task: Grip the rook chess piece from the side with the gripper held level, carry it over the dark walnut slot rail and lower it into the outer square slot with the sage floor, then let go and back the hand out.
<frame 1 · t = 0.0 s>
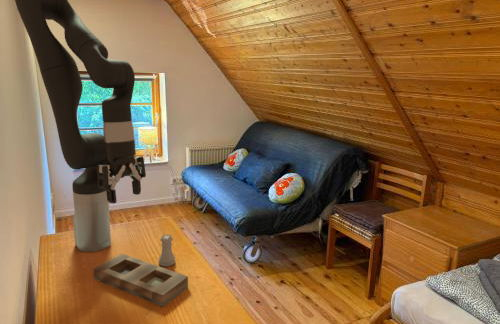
hand: (125, 198, 98), 17 cm above the table, tool pointing down, fingers open, 8 cm apart
rook chess piece: (167, 263, 100), on the table
slot rail: (140, 283, 90), on the table
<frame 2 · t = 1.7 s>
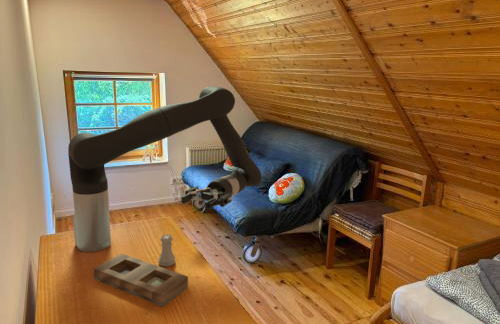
hand: (194, 203, 107), 14 cm above the table, tool horizontal, fingers open, 8 cm apart
nothing on the table moved.
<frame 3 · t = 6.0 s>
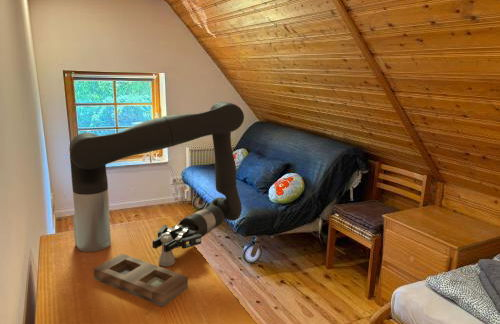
hand: (159, 246, 96), 6 cm above the table, tool horizontal, fingers closed on rook chess piece, 3 cm apart
rook chess piece: (167, 263, 100), on the table, touching gripper
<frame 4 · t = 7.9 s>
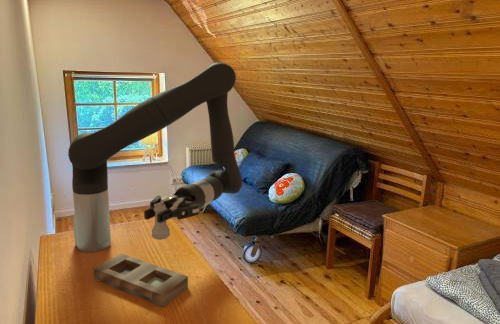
hand: (152, 217, 85), 18 cm above the table, tool horizontal, fingers closed on rook chess piece, 3 cm apart
rook chess piece: (160, 237, 89), point 11 cm above the table, touching gripper
when the fingers open (8 cm above the table, at t = 10.1 s): rook chess piece stays where it is, resting on slot rail.
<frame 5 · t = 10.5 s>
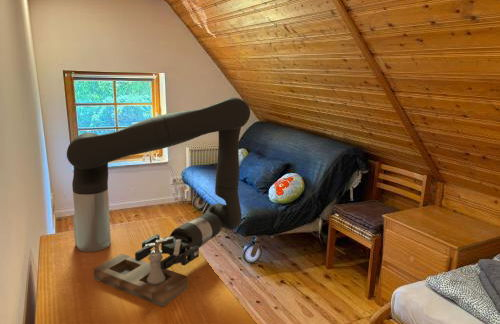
hand: (148, 261, 84), 8 cm above the table, tool horizontal, fingers open, 7 cm apart
rook chess piece: (156, 285, 87), point 1 cm above the table, touching slot rail
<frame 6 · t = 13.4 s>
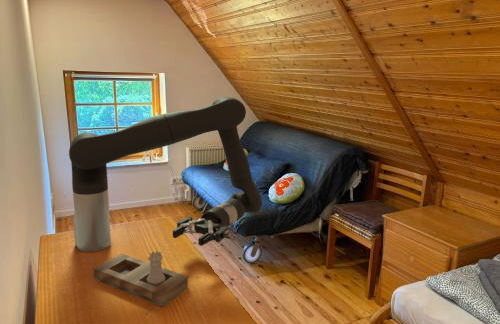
hand: (186, 238, 96), 8 cm above the table, tool horizontal, fingers open, 8 cm apart
nothing on the table moved.
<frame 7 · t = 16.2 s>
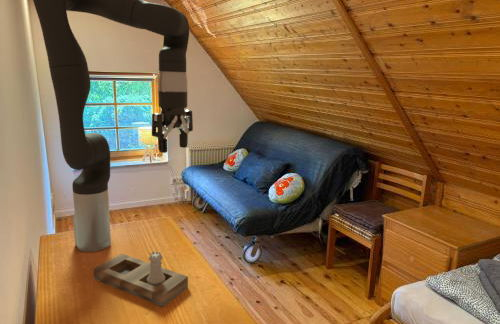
hand: (173, 149, 100), 30 cm above the table, tool pointing down, fingers open, 8 cm apart
nothing on the table moved.
at the end: rook chess piece 0.2 cm from the target spot on the slot rail, point 1.0 cm above the slot rail's base; rook chess piece tilted 0°; the gripper is holding nothing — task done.
